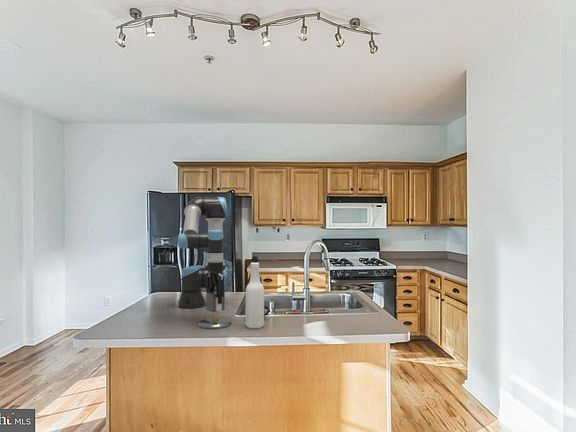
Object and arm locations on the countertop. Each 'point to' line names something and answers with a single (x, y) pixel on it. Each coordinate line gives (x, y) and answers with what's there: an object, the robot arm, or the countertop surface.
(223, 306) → the knob
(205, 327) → the hub
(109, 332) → the countertop surface
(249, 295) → the alcohol
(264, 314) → the mug
